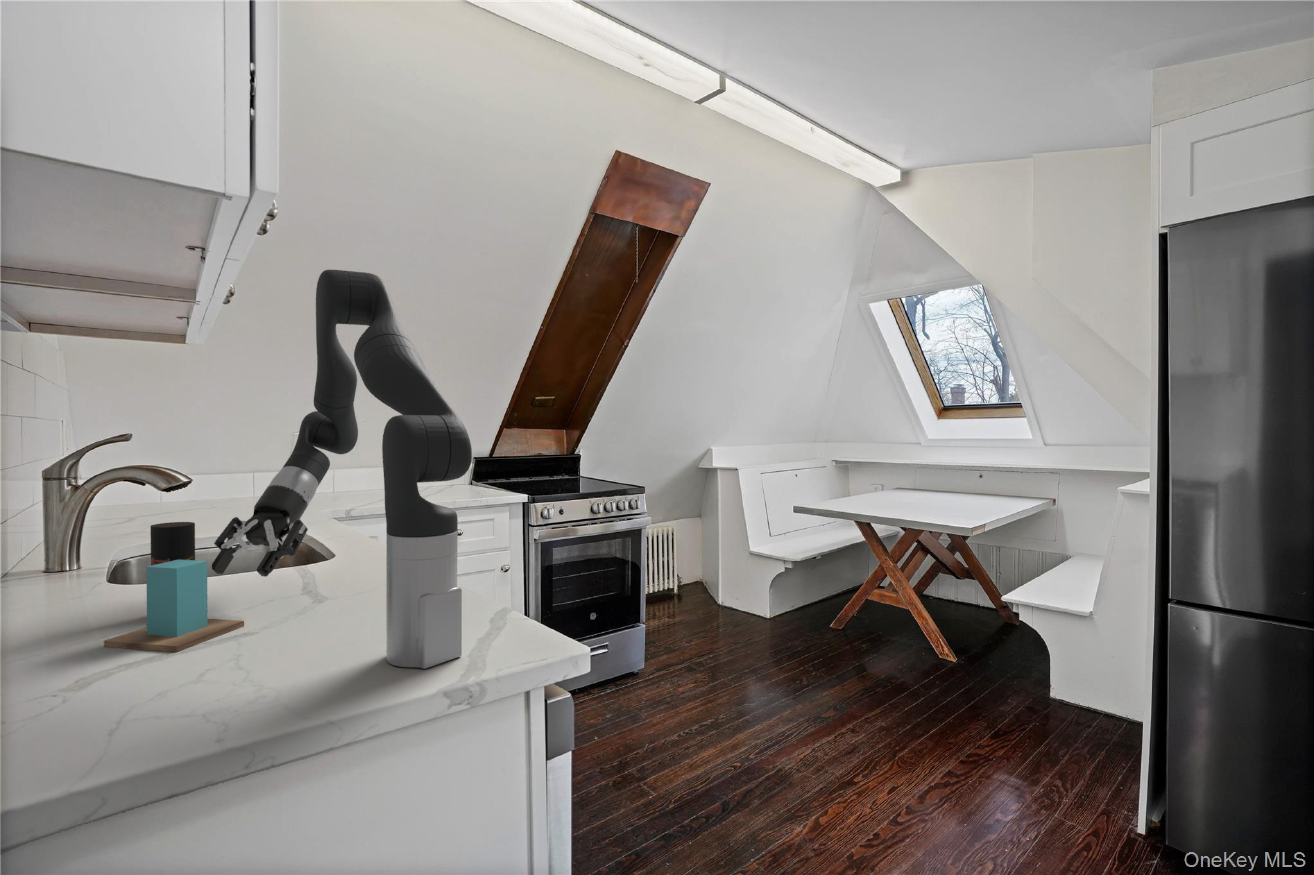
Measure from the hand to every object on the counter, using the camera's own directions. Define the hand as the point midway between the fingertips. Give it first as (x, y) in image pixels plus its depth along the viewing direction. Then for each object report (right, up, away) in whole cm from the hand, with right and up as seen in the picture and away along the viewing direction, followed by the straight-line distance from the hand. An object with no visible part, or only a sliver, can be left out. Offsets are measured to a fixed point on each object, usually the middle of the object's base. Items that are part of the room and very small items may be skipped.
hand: (238, 572), depth 110 cm
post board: (-2, -7, -11) cm, 14 cm away
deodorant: (-10, -7, -1) cm, 13 cm away
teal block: (-2, -6, -11) cm, 13 cm away
